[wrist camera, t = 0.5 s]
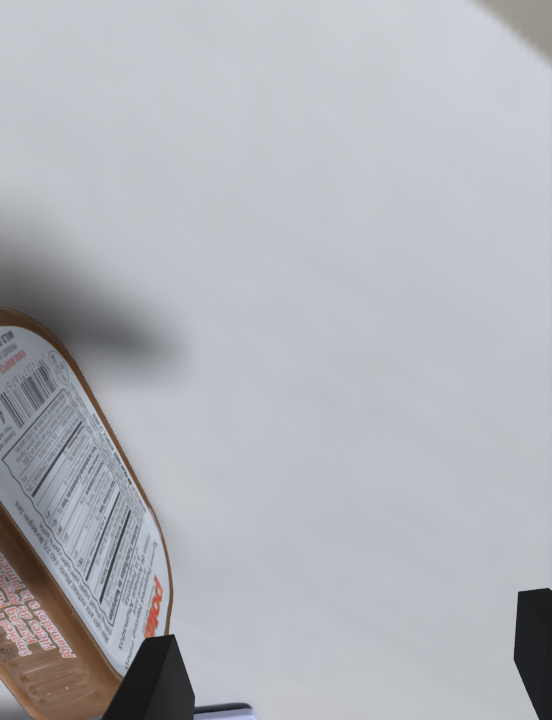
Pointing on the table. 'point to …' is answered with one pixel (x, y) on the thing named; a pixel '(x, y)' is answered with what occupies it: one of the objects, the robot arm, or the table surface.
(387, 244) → the table surface
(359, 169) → the table surface
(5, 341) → the tin
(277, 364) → the table surface
